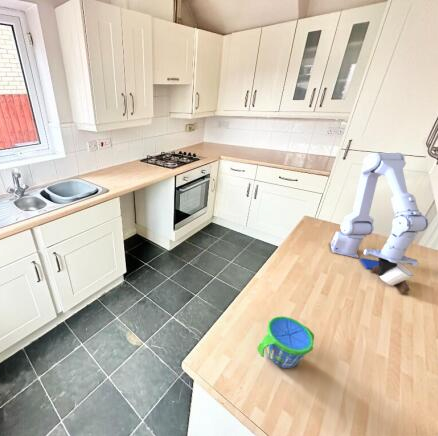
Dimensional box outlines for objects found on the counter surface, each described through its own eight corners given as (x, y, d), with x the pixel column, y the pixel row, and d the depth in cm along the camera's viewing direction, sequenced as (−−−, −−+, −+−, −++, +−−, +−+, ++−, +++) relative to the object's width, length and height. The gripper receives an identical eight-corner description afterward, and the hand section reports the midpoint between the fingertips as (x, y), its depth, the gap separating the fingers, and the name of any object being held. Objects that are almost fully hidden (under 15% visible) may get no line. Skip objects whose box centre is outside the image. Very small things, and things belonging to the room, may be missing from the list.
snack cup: (264, 378, 63) (273, 355, 58) (245, 341, 72) (252, 318, 67) (320, 372, 64) (333, 348, 59) (295, 336, 73) (305, 313, 68)
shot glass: (386, 274, 96) (403, 263, 91) (399, 289, 90) (418, 278, 86) (372, 269, 94) (389, 258, 90) (385, 284, 89) (403, 273, 85)
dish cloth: (366, 269, 99) (367, 267, 99) (360, 259, 105) (360, 257, 104) (390, 273, 97) (391, 271, 96) (383, 263, 102) (383, 261, 102)
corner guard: (378, 288, 90) (382, 282, 88) (371, 270, 98) (374, 265, 97) (405, 295, 87) (410, 289, 85) (396, 276, 95) (399, 270, 93)
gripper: (373, 245, 86) (358, 274, 93) (429, 257, 80) (408, 287, 87) (369, 236, 91) (354, 264, 98) (420, 246, 85) (401, 275, 92)
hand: (379, 274), depth 93 cm, fingers closed, pressing on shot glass
